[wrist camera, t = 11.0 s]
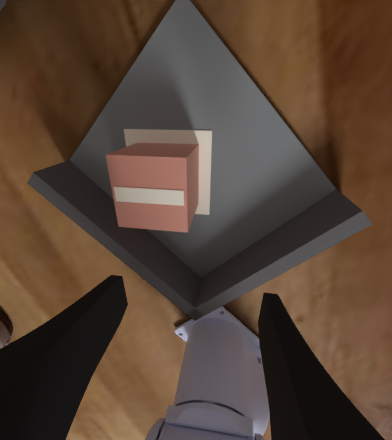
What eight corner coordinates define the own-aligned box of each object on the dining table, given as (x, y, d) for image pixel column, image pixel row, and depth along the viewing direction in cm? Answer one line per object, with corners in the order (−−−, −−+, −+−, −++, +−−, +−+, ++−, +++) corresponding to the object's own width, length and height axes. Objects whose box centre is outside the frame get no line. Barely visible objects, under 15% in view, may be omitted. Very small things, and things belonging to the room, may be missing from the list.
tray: (341, 197, 18) (372, 223, 14) (201, 285, 25) (194, 321, 21) (184, -6, 14) (162, -52, 10) (67, 167, 21) (27, 183, 17)
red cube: (198, 144, 17) (186, 158, 13) (198, 203, 19) (187, 233, 15) (137, 142, 18) (104, 155, 13) (144, 200, 20) (118, 227, 16)
